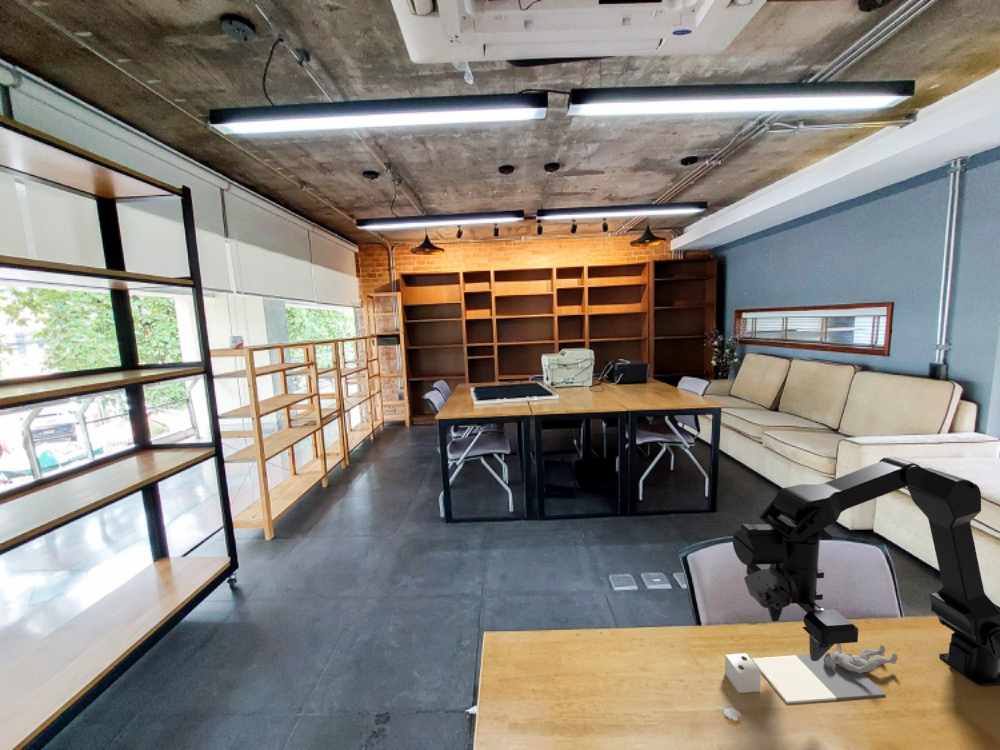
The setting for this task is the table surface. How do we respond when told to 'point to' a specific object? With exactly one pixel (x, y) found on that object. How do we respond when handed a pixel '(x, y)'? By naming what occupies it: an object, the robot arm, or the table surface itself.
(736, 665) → the die
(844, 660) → the soldier figure
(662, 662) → the table surface
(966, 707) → the table surface
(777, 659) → the board
